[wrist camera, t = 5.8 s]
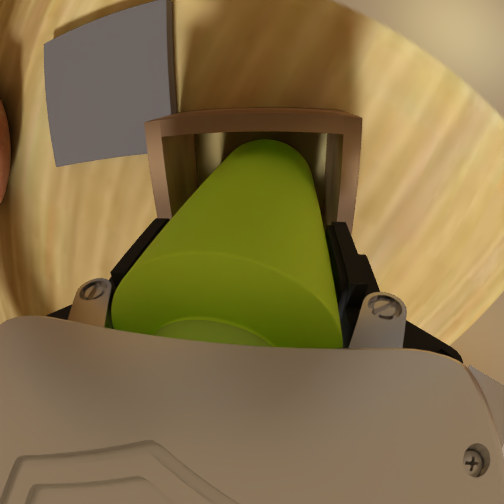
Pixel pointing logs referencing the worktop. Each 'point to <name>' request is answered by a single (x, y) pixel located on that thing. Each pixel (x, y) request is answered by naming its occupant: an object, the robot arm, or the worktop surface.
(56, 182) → the worktop surface
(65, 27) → the worktop surface
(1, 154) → the ceramic jug
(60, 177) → the worktop surface
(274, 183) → the soap dispenser
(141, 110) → the mat
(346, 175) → the holder
